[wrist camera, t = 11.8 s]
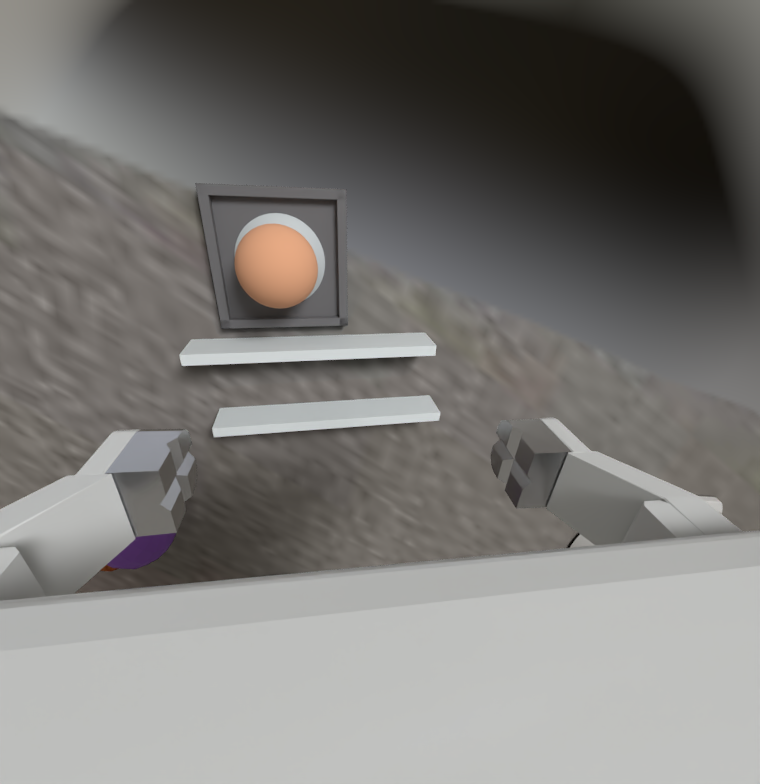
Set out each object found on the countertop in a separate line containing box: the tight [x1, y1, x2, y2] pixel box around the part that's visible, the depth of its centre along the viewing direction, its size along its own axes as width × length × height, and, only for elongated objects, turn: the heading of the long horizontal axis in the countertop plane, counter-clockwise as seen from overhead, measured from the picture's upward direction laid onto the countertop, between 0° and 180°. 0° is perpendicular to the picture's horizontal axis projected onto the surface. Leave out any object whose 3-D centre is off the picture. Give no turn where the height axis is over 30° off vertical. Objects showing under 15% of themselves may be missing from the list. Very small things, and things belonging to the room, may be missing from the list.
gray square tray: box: [195, 183, 348, 329], centre depth 25 cm, size 9×9×1 cm
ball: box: [234, 224, 318, 309], centre depth 23 cm, size 5×5×5 cm
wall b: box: [179, 333, 436, 366], centre depth 27 cm, size 18×1×3 cm, turn 88°
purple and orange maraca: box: [100, 533, 176, 571], centre depth 32 cm, size 6×6×20 cm
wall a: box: [212, 395, 440, 437], centre depth 30 cm, size 18×1×3 cm, turn 88°
